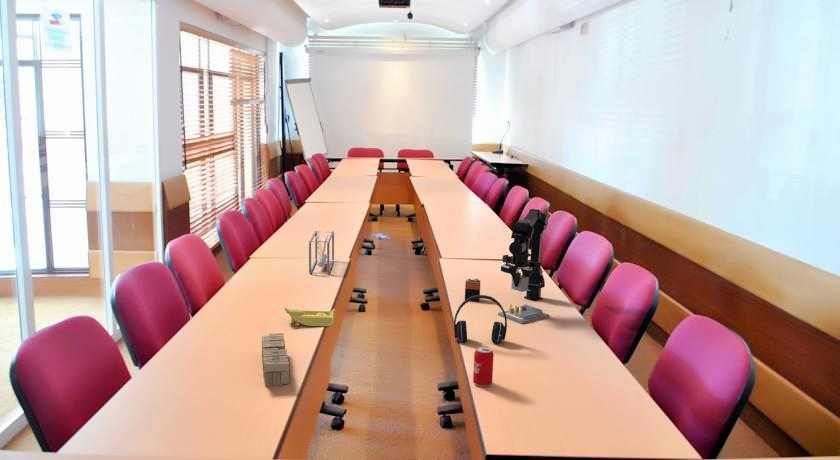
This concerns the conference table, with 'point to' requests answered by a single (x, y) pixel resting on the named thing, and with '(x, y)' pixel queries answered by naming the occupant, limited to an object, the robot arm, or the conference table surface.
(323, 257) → the newton's cradle
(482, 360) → the beverage can
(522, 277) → the plug
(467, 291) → the battery
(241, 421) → the conference table surface
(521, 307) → the header socket
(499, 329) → the headphones
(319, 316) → the plastic component
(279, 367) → the block tower
